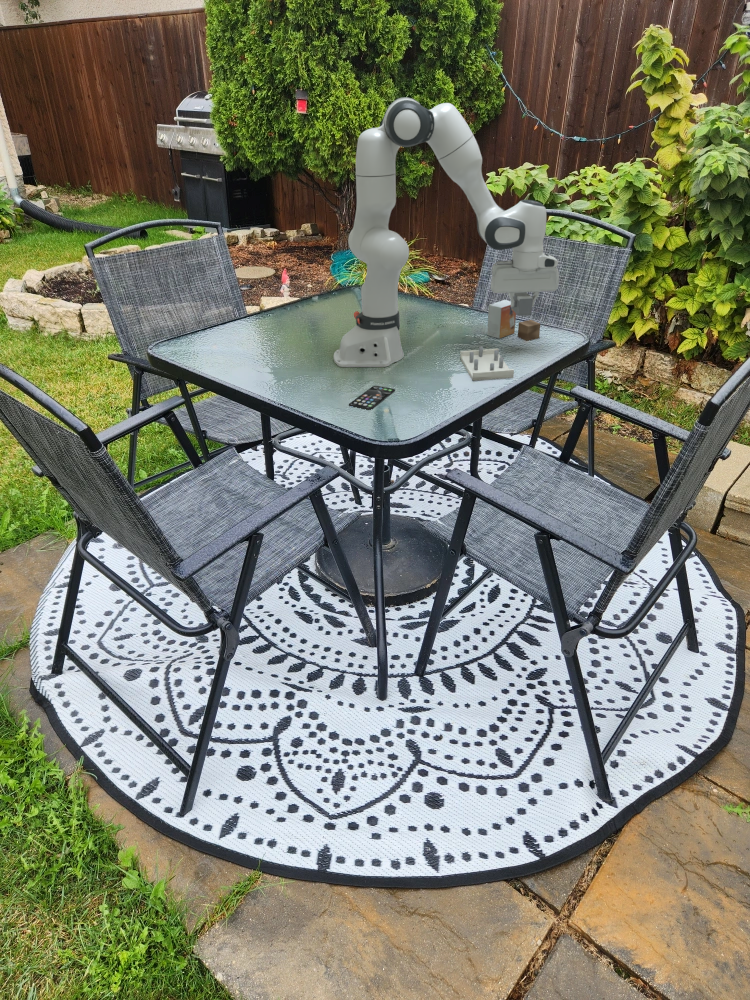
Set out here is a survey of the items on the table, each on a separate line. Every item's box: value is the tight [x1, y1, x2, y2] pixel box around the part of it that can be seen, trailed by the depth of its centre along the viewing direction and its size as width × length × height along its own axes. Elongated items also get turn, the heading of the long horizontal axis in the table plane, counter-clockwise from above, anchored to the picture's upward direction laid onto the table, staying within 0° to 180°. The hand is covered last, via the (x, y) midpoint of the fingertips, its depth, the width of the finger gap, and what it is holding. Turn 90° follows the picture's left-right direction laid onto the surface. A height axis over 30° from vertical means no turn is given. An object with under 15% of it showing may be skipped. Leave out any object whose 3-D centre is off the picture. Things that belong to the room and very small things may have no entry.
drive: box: [511, 292, 533, 317], centre depth 205 cm, size 4×8×5 cm, turn 6°
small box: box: [486, 299, 517, 340], centre depth 223 cm, size 8×6×10 cm
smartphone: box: [348, 385, 396, 411], centre depth 187 cm, size 7×1×15 cm
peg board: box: [459, 345, 515, 382], centre depth 201 cm, size 12×18×4 cm, turn 6°
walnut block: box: [517, 319, 541, 342], centre depth 221 cm, size 5×5×5 cm
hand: (522, 306), depth 205 cm, fingers closed on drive, 4 cm apart
